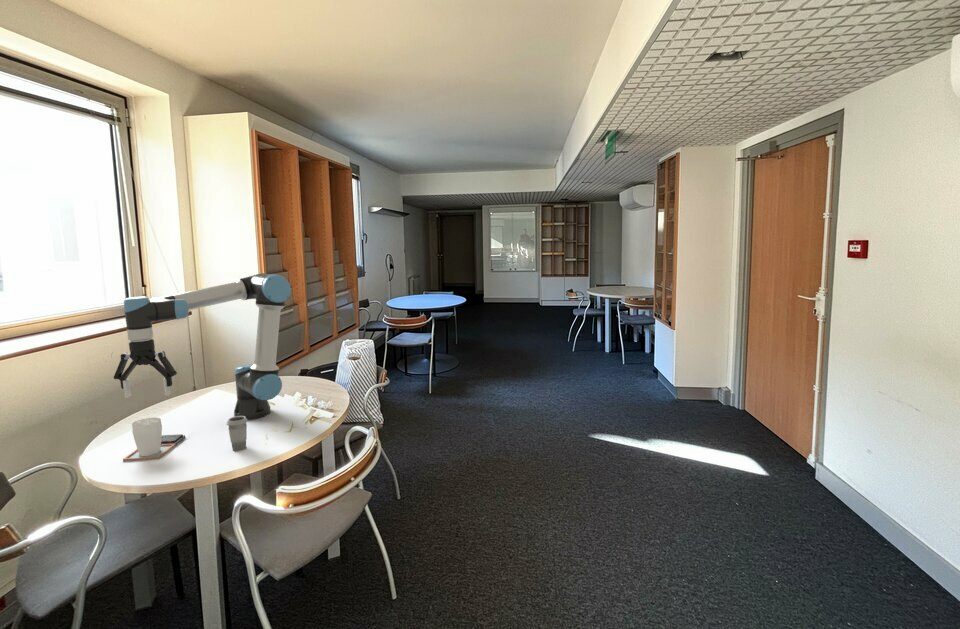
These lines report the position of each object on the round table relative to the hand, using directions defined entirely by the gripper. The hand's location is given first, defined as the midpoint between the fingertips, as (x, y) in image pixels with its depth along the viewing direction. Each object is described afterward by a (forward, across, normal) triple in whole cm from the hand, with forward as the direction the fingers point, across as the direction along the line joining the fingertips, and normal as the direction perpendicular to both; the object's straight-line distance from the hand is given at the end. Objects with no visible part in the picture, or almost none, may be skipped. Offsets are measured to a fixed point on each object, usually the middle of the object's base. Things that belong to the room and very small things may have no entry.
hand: (148, 395), depth 177 cm
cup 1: (+21, +1, +2) cm, 22 cm away
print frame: (+22, +1, +2) cm, 22 cm away
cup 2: (+22, -31, +2) cm, 38 cm away
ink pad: (+22, +1, -8) cm, 23 cm away
